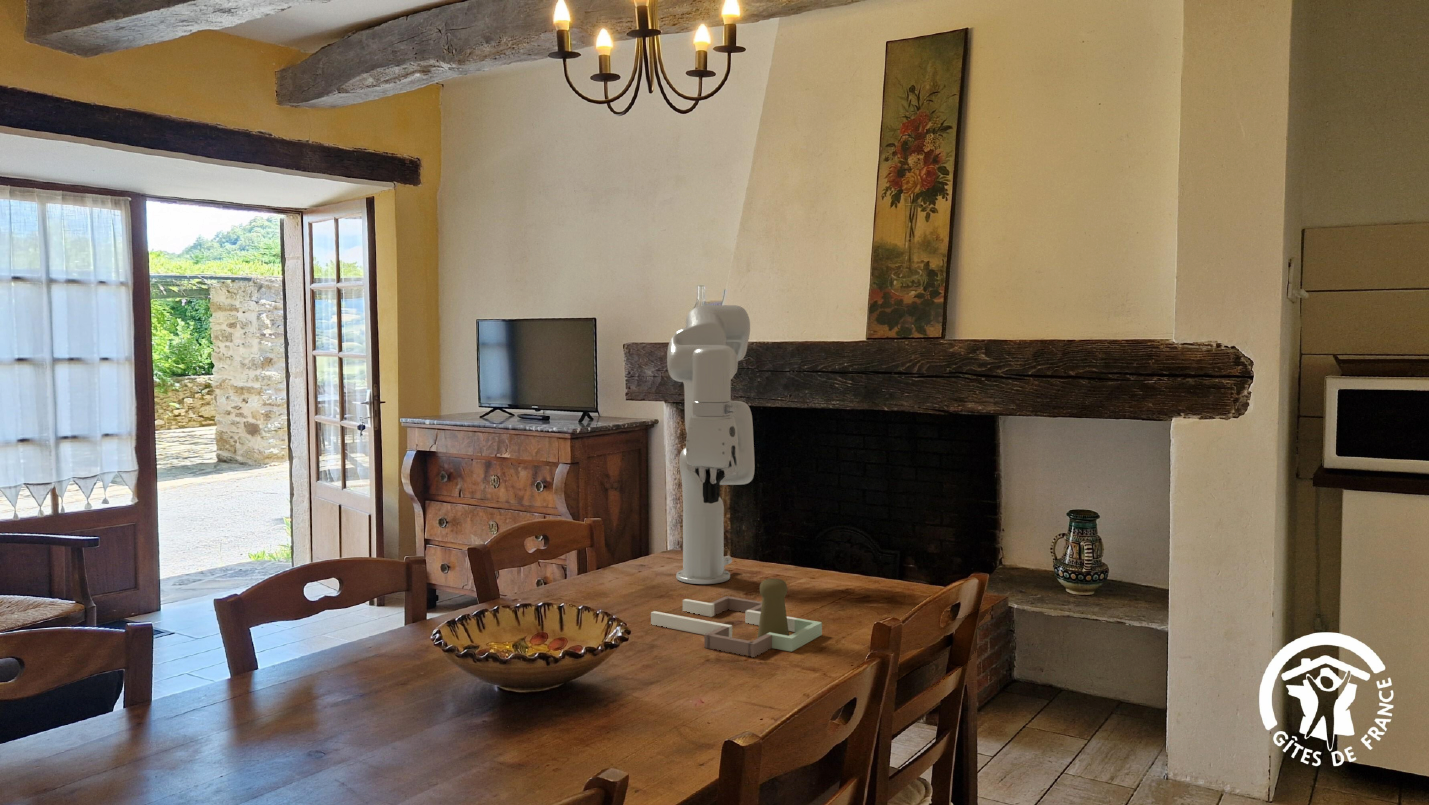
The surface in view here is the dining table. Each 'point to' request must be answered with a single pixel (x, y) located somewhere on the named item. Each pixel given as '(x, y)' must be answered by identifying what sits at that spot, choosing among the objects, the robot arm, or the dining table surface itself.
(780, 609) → the olive pawn
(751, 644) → the trap lane
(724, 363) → the robot arm
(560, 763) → the dining table surface
